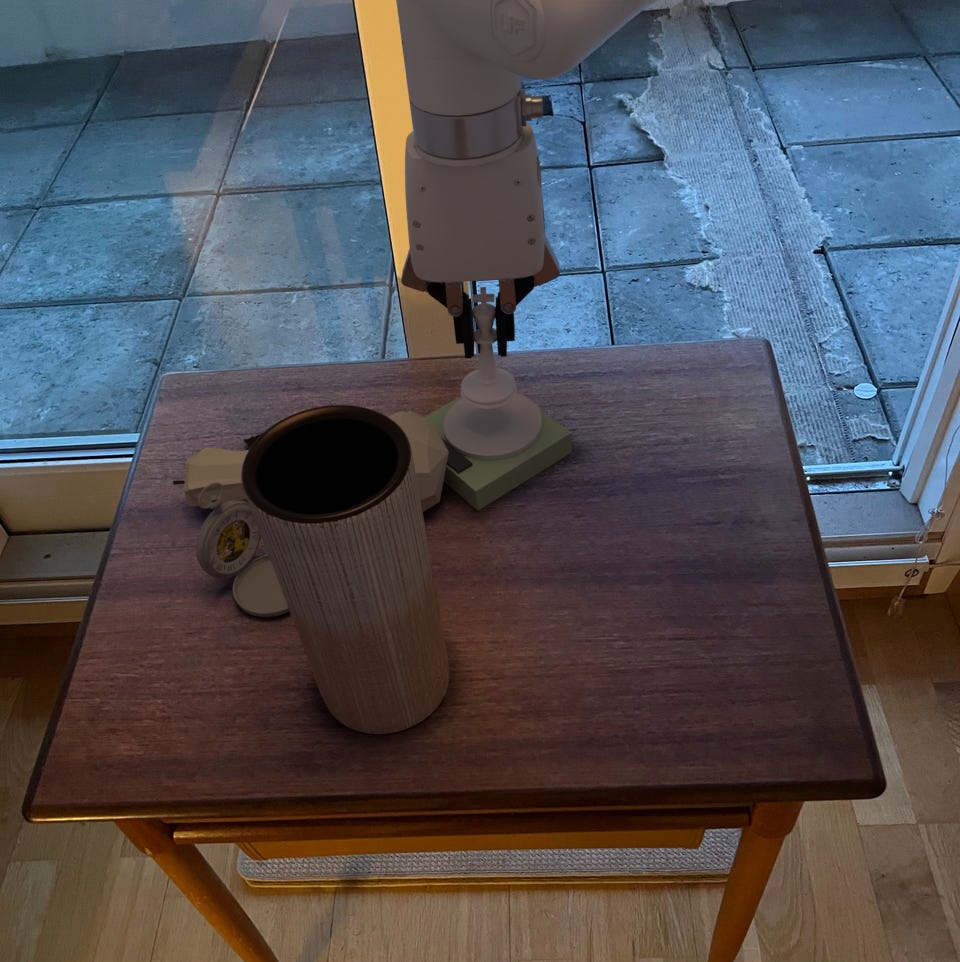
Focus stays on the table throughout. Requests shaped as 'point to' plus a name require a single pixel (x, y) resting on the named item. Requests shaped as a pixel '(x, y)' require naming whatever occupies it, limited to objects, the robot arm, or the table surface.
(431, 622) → the planter
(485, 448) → the scale
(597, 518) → the table surface
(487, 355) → the chess piece
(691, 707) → the table surface
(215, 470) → the faceted club
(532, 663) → the table surface
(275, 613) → the pocket watch
